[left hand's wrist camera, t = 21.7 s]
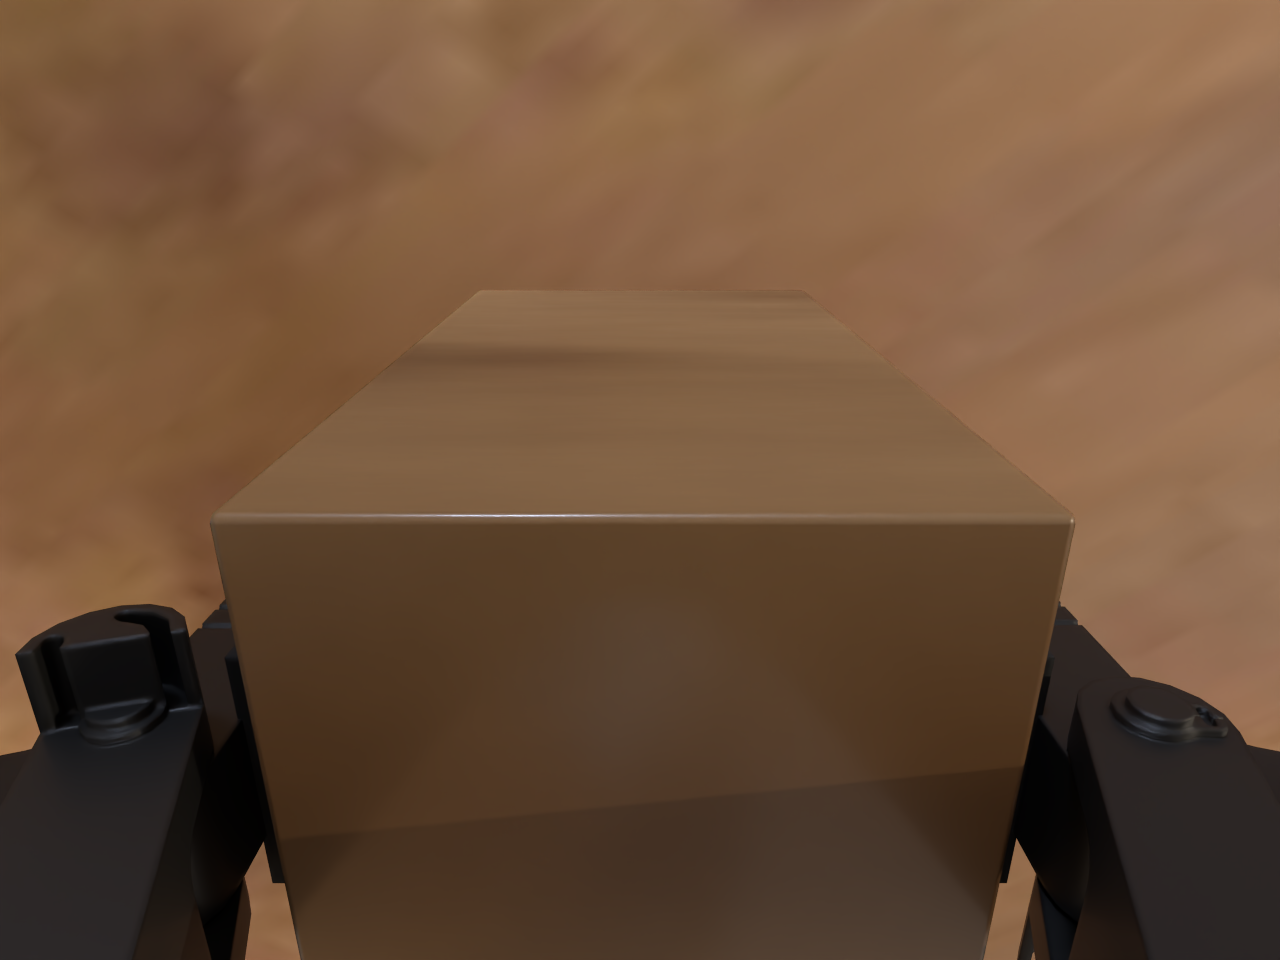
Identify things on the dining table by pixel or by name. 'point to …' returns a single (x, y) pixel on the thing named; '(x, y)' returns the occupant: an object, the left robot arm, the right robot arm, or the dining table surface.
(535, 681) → the block
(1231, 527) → the dining table surface
